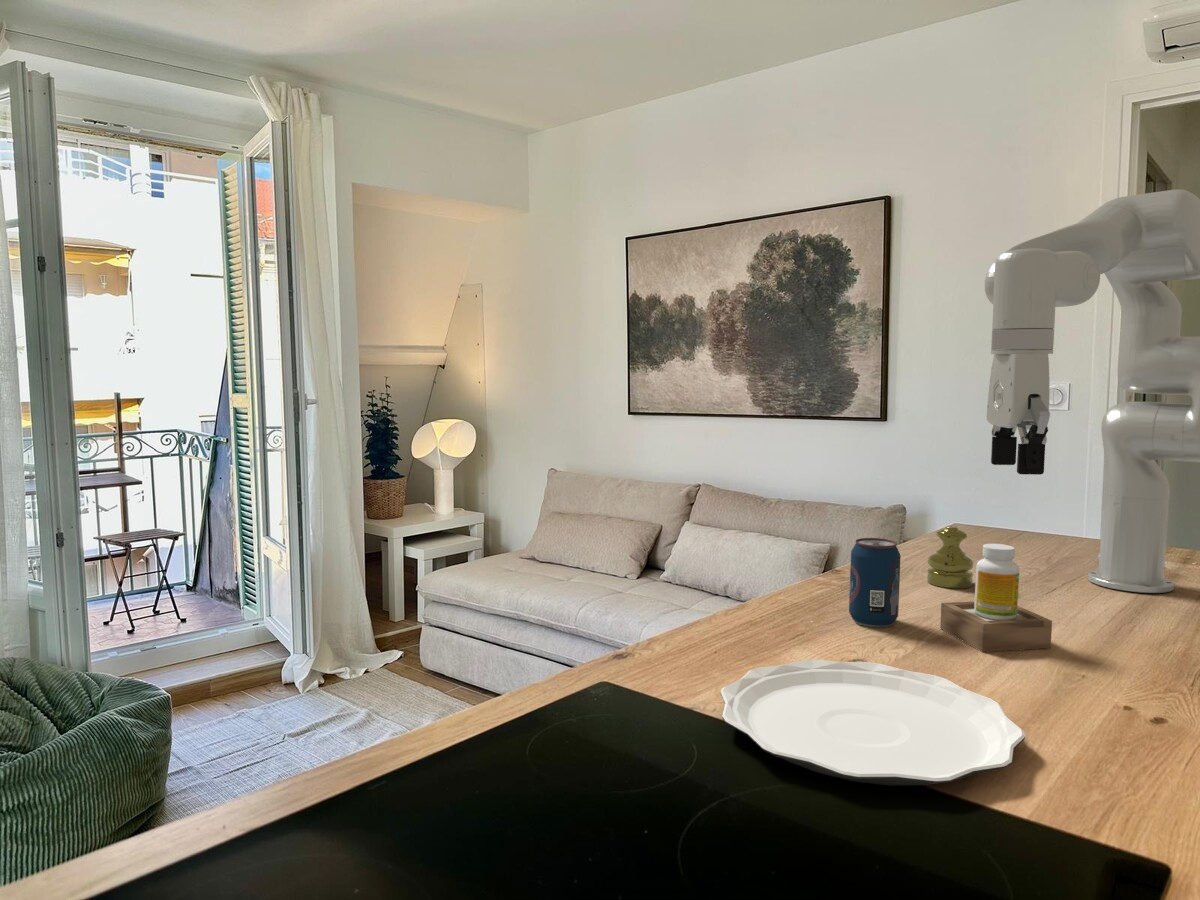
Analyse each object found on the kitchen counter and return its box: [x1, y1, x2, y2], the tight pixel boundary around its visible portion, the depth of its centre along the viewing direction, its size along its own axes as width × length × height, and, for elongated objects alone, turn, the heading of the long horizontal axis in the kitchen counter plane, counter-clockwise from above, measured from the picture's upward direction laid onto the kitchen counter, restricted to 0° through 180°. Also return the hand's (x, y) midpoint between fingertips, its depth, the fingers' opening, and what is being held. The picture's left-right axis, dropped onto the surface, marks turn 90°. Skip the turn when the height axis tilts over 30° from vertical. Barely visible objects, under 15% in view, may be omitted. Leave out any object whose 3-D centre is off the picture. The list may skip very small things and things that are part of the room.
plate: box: [720, 659, 1026, 787], centre depth 88 cm, size 29×29×2 cm
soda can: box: [848, 537, 902, 628], centre depth 124 cm, size 7×7×12 cm
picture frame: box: [939, 601, 1053, 653], centre depth 117 cm, size 10×10×4 cm
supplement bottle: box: [973, 543, 1020, 620], centre depth 116 cm, size 5×5×10 cm
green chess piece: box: [926, 525, 975, 590], centre depth 146 cm, size 7×7×10 cm
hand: (1016, 469), depth 115 cm, fingers open, 9 cm apart
